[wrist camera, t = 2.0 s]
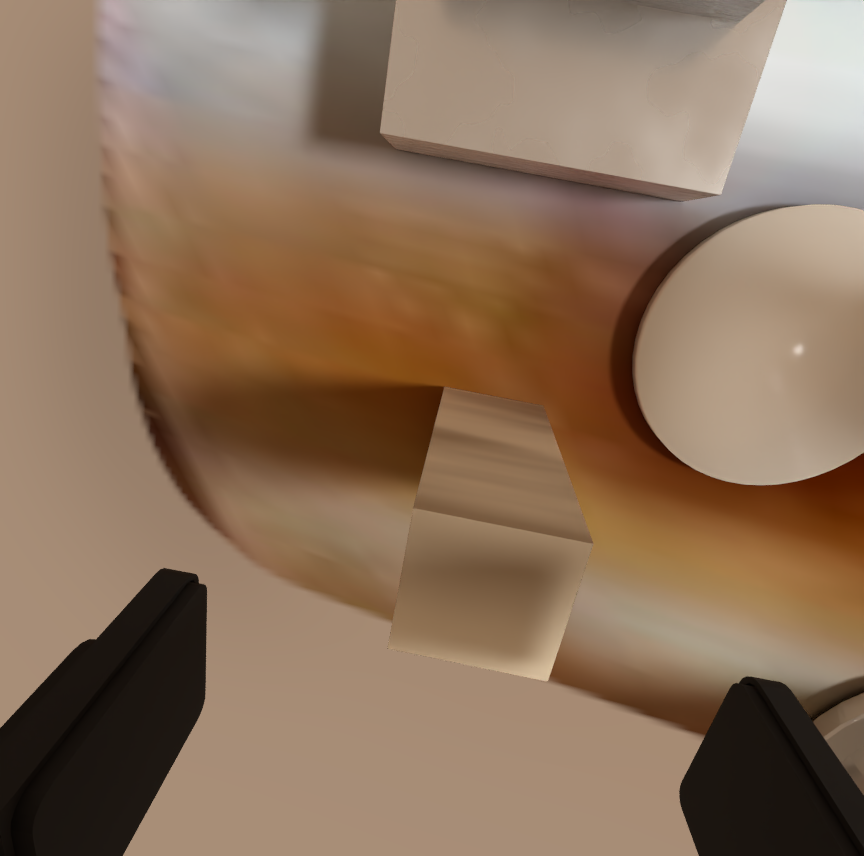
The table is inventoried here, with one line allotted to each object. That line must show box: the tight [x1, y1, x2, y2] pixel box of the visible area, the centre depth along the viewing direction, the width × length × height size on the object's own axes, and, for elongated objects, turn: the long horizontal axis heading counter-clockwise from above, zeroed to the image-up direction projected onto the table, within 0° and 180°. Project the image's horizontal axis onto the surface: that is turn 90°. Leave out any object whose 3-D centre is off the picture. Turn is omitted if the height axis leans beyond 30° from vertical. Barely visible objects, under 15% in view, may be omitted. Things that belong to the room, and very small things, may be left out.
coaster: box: [632, 205, 864, 485], centre depth 19 cm, size 10×10×1 cm
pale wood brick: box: [388, 387, 593, 682], centre depth 17 cm, size 4×4×10 cm
